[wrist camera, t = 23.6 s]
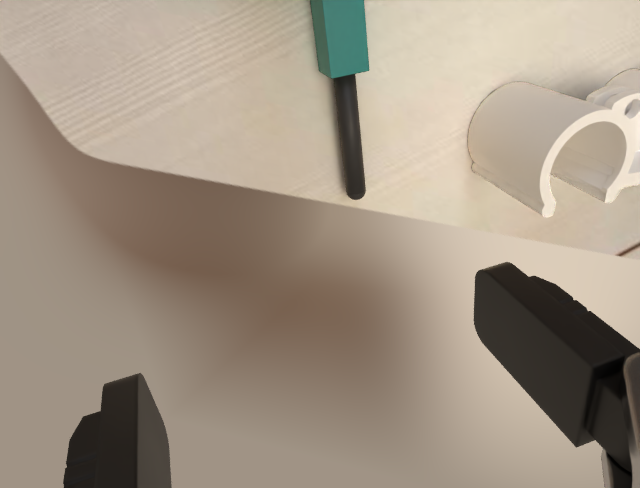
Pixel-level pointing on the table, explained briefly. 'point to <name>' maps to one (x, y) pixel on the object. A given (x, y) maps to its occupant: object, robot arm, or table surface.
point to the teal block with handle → (344, 75)
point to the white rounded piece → (558, 140)
